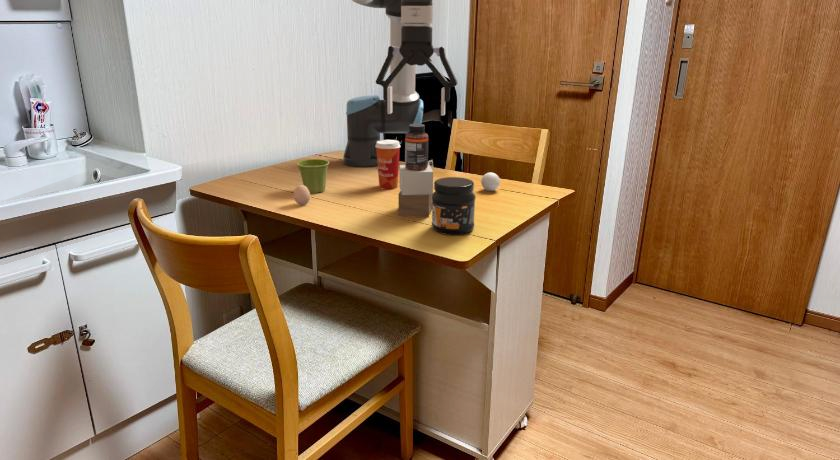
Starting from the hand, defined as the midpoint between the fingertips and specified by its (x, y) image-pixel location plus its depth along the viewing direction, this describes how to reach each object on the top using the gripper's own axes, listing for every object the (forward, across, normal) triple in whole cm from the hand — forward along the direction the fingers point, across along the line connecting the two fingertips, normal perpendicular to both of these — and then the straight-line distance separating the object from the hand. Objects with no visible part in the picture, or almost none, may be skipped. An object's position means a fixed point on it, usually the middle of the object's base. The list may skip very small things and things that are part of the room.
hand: (416, 114), depth 146 cm
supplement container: (+26, +11, -12) cm, 31 cm away
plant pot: (+26, -33, +14) cm, 45 cm away
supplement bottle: (+14, 0, 0) cm, 14 cm away
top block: (+20, 0, -1) cm, 20 cm away
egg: (+26, -32, 0) cm, 41 cm away
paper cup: (+26, -12, +22) cm, 37 cm away
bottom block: (+26, 0, -1) cm, 26 cm away
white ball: (+26, +19, +22) cm, 40 cm away
